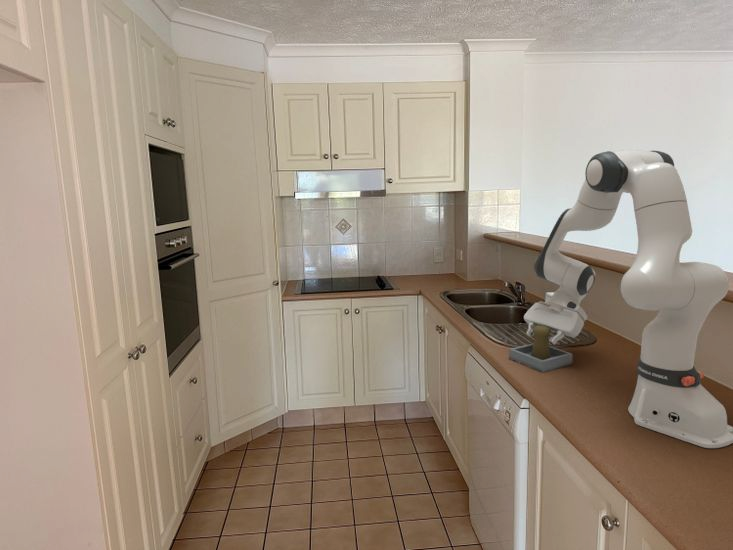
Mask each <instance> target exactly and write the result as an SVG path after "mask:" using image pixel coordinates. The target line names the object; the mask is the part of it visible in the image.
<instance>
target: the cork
mask: <svg viewBox="0 0 733 550" xmlns="http://www.w3.org/2000/svg"><path fill="white" fill-rule="evenodd" d="M533 332H534V335H533V336H534V339H533V343H532V344H533V348H532V353H531V356H533V357H535V358H538V359H540V360H545V359H549V358H550V354H549V346H550V342H549V337H550V334H551V331H550V329H549V328H548V327H546V326H536V327H535V328H533Z"/></svg>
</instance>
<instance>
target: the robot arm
mask: <svg viewBox="0 0 733 550" xmlns="http://www.w3.org/2000/svg"><path fill="white" fill-rule="evenodd" d="M624 193H627V194H630V196H631V197H632V203H633V212H634V217H635V224H636V230H637V250H636V256H635V258H634V261H633V263H632V265H631V267H630V268H629V269H628V270H627V271H626V272H625V273H624V274H623V276H622V278H621V281H620V293H621V296H622V298H623V300H624V301H625V302H626V304H627V305H628V306H630V307H632V308H634V309H639V310H645V311H653V312H655V311H659V312H658V313H657V315H656V316H655V317H654V318H653V320H651V321H650V322H649V323H647V325H645V327H644V328H643V330H642V336H641V345H640V346H641V347H640V357H638V359H637V369H636V376H637V379H636V380H637V381H636V386H635V390H634V393H633V396H632V399H631V402H630V404H629V405H628V407H627V408H628V409H627V410H628V412H629V414H630V415H631V416H632V417H633V420H634V424H636V425H637V426H640V427H643V428H646V429H648V430H651V431H655V432H658V433H660V434H664V435H666V436H669V437H672V438H675V439H677V440H679V441H683V442H686V443H690V444H693V445H694V446H699V447H701V448H705V449H719V448H724V447H727V446H729V445H731V444H733V426H732V425H729V424H728V415H727V411H726V408H725V407H724V405H723V404H722V403H721V402H720V401H718V400H717V398H715V397H714V396H713V395H712V394H711V393H710V392H709V391H708V390H707V389H706V388H705V387H704V386H703V385H702V384H701V379H702V378H704V377H705V374H706V373H705V372H704V371H703V372H701V373H699V372H698V371H697V369H696V367H695V365H694V364H695V363H694V362H695V356H696V355H695V354H696V349H697V341H698V337H699V335H700V334H699V333H700V332H701V330H702V327H703V325H704V323H705V321H706V319H707V318H708V316H709V314H710V312H711V311H712V310H713V308H714V307H715V306H716V305H717V304H718V303H719V302H721V300H723V299H724V298H725V297H726V295H727V294H728V291H729V289H730V282H729V281H730V280H729V278H728V275H727V273H726V272H725V270H724V269H723V268H722V267H720V266H718V265H715V264H712V263H706V262H701V261H687V262H685V261H684V262H680V255H681V251H682V250H681V249H682V247H683V245H684V244H685V243H687V242H688V241H689V240H690V239H691V237H692V234H693V228H692V222H691V214H690V210H689V206H688V199H687V195H686V191H685V188H684V184H683V182H682V179H681V177H680V174H679V172H678V170H677V168H676V167H675V162H674V159H673V158H672V157H671V155H670V154H668V153H666V152H665V151H659V150H638V149H637V150H635V149H624V150H615V151H610V150H609V151H603V152H600V153H596V154H595V155H593V156H592V157H591V158H590V159H589V160H588V163H587V165H586V168H585V179H584V182H583V183H582V186H581V188H580V190H579V193H578V197H577V198H576V199H577V200H576V201H575V204H574V205H573V206H572V207H571V208H566V209H565V210H564V211H563V212H562V213H561V215H560V216H559V217H558V218H557V221H556V222H555V224H554V225H553V228H552V230H551V232H550V233H549V236H548V237H547V240H546V242H545V244H544V245H543V248H542V250H541V252H540V253H539V255H538V256H537V257H536V259H535V260H534V261H535V262H534V265H533V270H534V272H535V274H536V276H537V277H538V278H539V279H543V280H545V281H549V282H551V283H554V284H556V285H557V286H559V287H558V289H556V290H555V291H554V294H553V295H552V297H551V298H550V300H549V301H548V303H546V302H545V301H542V300H540V301H538V302H534V304H533V305H532V306H531V307H530V308H529V309H528V310H527V311H526V313H524V315H523V320H524V322H526V323H527V324H528V330H527V331H526V335H527V336H528V337H531V338H532V337H533V336H535V335H534V332H533V330H534V328H535V327H536V326H546V327H548V328H549V329H550V332H552V331H553V332H552V333H556V335H554V336H550V338H548V342H549V344H552V345H556V344H557V342H558V341H560V340H562V339H563V338H565V336H567V337H570V338H573V339H574V338H576V337H578V336H579V334H580V332H581V331H582V329H583V327H584V326H585V325H584V324H585V321H586V320H587V319H588V317H589V316H588V315H587V313H586V312H585V310H584V309H583V308H582V306H580V304H581V302H582V300H583V299H585V297H586V296H587V295H588V293H589V292H590V290H591V289H592V287H593V285H594V284H595V281H596V272H595V270H594V269H593V268H592V266H591V265H588V264H587V263H586V262H585V263H584V262H582V261H580V260H577V259H574V258H572V257H569V256H566V255H564V254H562V253H561V252H560V251H559V249H560V247H561V245H562V243H563V241H564V240H565V237H566V235H567V234H568V232H569V233H570V232H579V231H580V232H588V231H589V232H591V231H596V230H600V229H603V228H605V227H606V226H608V225H609V224H610V223H611V222H612V220H613V219H614V217H615V215H616V212H617V210H618V207H619V204H620V201H621V197H622V195H623V194H624Z"/></svg>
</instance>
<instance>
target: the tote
mask: <svg viewBox="0 0 733 550" xmlns="http://www.w3.org/2000/svg"><path fill="white" fill-rule="evenodd" d="M532 348H533V343H530V344H524V345H521V346H517V347H512V348H509V350H508V351H509V354H508V359H509V358H510V359H509V360H511V359H512V360H511V361H513V360H515V361H514V362H516V361H518V362H520V363H522V364H521V365H523V364H525V365H527V366H526V367H528V366H530V367H532V368H531V369H533V368H534V369H533V370H535V369H536V370H535V371H537V370H539V371H538V372H540V371H541V372H540V373H545V372H549V371H552V370H555V369H560V368H562V367H566V366H570V365H572V364H573V357H574V356H573V353H571V352H570V351H569V352H568V351H566V350H562V349H559V348H557V347H553V346H552V345H549V354H550V358H549V359H545V360H540V359H538V358H535V357H533V356H531V353H532ZM518 362H517V363H518ZM520 363H519V364H520ZM525 365H524V366H525ZM530 367H529V368H530Z"/></svg>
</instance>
